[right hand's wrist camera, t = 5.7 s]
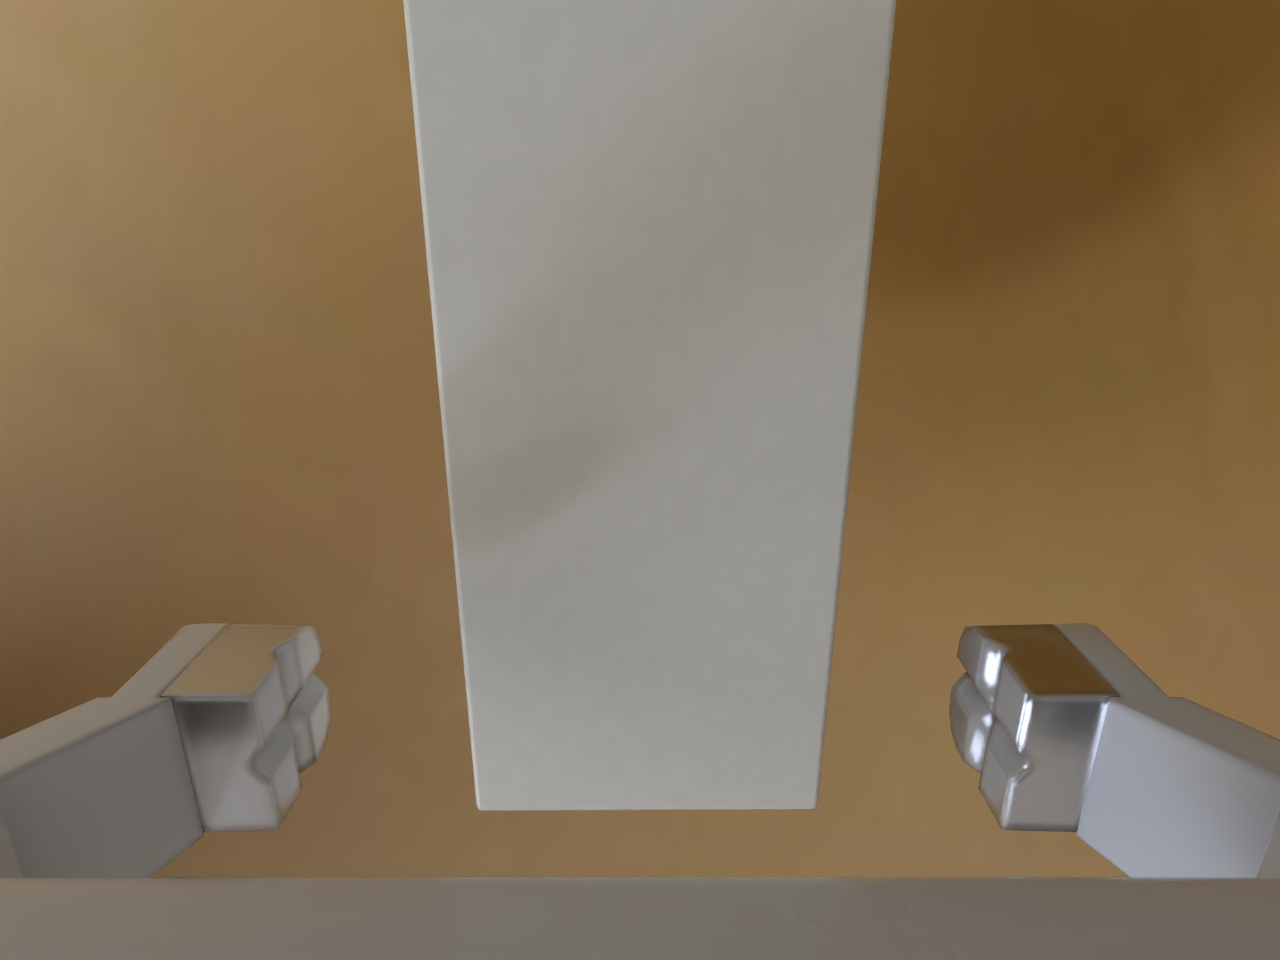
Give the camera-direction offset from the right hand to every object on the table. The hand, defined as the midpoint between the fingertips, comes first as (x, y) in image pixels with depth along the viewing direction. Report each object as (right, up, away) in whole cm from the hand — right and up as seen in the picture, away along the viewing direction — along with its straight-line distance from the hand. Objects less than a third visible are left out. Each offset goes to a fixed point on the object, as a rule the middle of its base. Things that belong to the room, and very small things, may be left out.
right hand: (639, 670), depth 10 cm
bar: (0, +11, +7) cm, 13 cm away
